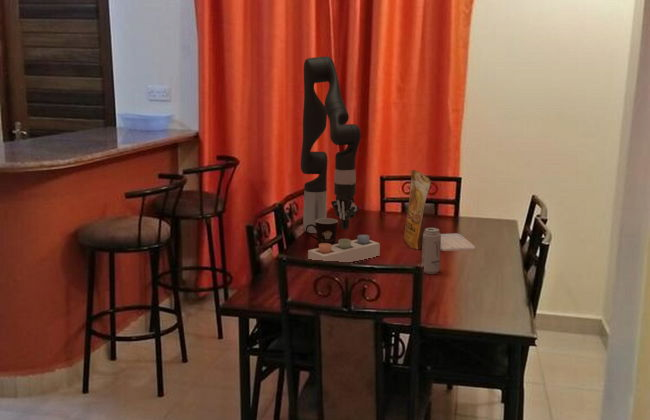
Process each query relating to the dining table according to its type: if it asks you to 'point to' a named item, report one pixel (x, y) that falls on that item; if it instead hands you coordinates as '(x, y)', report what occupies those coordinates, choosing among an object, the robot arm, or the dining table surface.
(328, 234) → the coffee mug
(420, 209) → the pancake mix bag
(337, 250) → the console
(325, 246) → the button terracotta
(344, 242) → the button sage
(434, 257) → the energy drink can
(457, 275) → the dining table surface
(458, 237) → the calculator
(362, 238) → the button slate
